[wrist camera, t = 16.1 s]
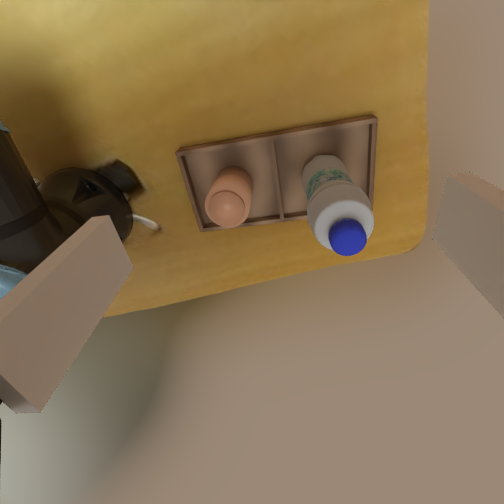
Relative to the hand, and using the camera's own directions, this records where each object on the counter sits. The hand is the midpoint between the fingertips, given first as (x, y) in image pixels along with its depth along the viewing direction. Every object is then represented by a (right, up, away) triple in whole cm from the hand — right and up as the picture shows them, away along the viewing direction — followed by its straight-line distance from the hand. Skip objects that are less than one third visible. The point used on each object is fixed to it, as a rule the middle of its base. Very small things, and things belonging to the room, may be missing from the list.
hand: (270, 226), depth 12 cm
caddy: (+3, +11, +33) cm, 35 cm away
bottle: (+10, +11, +31) cm, 34 cm away
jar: (-3, +9, +33) cm, 34 cm away
